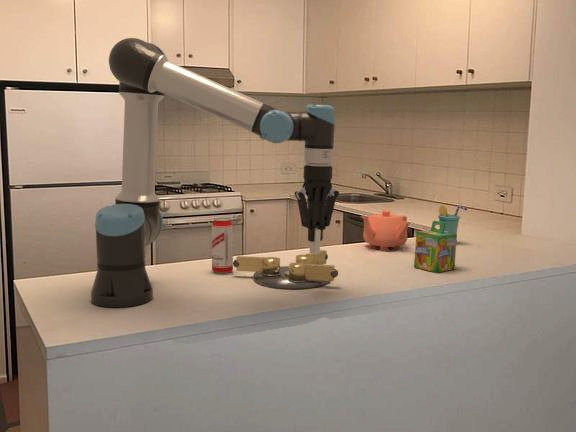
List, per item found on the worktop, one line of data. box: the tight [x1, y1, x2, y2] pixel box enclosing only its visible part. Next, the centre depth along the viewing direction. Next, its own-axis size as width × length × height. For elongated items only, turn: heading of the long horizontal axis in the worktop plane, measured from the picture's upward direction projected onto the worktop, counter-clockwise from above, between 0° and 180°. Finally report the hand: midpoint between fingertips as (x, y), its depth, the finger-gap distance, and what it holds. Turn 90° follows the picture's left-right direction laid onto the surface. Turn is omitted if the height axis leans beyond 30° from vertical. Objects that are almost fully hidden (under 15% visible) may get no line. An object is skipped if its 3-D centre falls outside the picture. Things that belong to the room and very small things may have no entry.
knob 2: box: [295, 249, 329, 265], centre depth 190 cm, size 14×5×4 cm, turn 142°
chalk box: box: [413, 220, 458, 274], centre depth 196 cm, size 9×9×15 cm
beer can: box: [211, 217, 234, 275], centre depth 189 cm, size 6×6×16 cm
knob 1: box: [233, 255, 281, 275], centre depth 184 cm, size 14×5×4 cm, turn 82°
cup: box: [437, 204, 468, 235], centre depth 234 cm, size 14×8×15 cm, turn 35°
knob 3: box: [289, 262, 339, 282], centre depth 175 cm, size 14×5×4 cm, turn 76°
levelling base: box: [253, 265, 331, 291], centre depth 183 cm, size 22×22×2 cm
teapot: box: [360, 209, 410, 252], centre depth 227 cm, size 16×17×14 cm
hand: (314, 253), depth 170 cm, fingers closed
